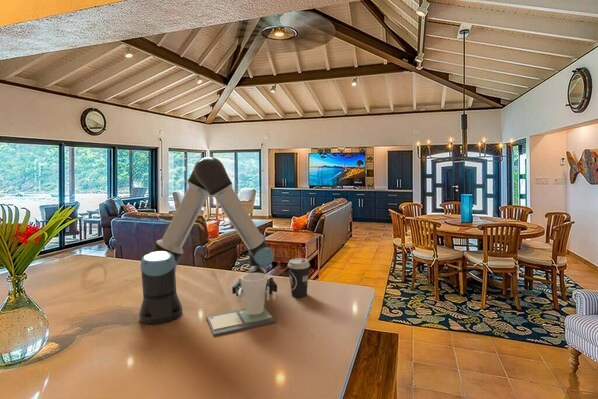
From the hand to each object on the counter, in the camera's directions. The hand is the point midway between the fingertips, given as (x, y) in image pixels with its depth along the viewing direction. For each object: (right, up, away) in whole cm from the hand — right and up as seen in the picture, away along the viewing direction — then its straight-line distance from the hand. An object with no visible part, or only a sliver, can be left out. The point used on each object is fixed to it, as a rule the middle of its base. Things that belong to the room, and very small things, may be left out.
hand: (253, 297), depth 122 cm
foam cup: (0, -7, +5) cm, 8 cm away
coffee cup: (+16, -7, +26) cm, 32 cm away
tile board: (-5, -9, +3) cm, 11 cm away
